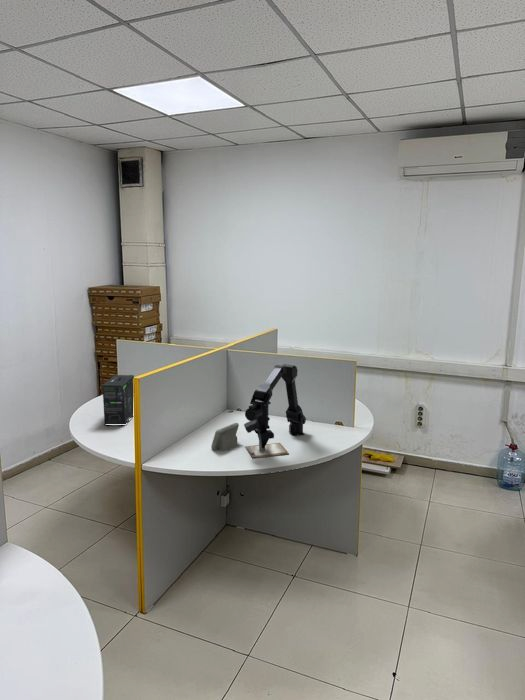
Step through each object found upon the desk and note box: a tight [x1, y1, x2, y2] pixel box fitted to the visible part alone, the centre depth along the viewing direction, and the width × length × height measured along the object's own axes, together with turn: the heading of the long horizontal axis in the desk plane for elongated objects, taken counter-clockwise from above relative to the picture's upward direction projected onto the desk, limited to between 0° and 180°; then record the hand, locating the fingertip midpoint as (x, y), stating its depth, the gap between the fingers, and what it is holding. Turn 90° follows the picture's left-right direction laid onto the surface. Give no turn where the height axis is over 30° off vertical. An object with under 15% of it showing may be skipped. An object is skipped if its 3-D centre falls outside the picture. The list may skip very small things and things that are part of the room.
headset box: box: [101, 374, 135, 425], centre depth 275 cm, size 22×12×26 cm, turn 179°
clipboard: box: [244, 442, 290, 459], centre depth 232 cm, size 18×14×2 cm
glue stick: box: [258, 438, 265, 452], centre depth 228 cm, size 3×3×9 cm
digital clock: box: [210, 422, 240, 451], centre depth 238 cm, size 16×9×11 cm, turn 131°
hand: (262, 446), depth 228 cm, fingers closed on glue stick, 3 cm apart
